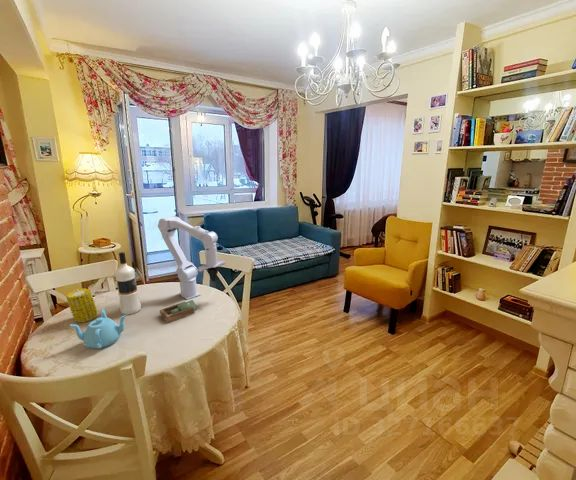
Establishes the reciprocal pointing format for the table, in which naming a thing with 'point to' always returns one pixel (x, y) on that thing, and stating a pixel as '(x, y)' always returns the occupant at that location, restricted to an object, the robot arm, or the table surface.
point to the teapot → (100, 332)
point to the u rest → (177, 315)
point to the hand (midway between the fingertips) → (213, 280)
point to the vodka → (127, 287)
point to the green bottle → (184, 306)
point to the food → (82, 305)
